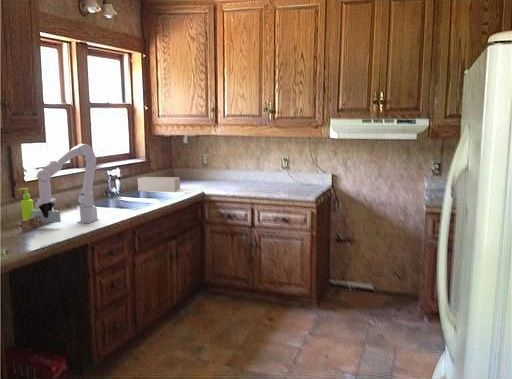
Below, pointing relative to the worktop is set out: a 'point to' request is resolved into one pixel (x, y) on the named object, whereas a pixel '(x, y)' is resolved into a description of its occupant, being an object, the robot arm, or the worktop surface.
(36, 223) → the walnut board
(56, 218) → the grey block
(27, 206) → the soap dispenser
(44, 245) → the worktop surface
